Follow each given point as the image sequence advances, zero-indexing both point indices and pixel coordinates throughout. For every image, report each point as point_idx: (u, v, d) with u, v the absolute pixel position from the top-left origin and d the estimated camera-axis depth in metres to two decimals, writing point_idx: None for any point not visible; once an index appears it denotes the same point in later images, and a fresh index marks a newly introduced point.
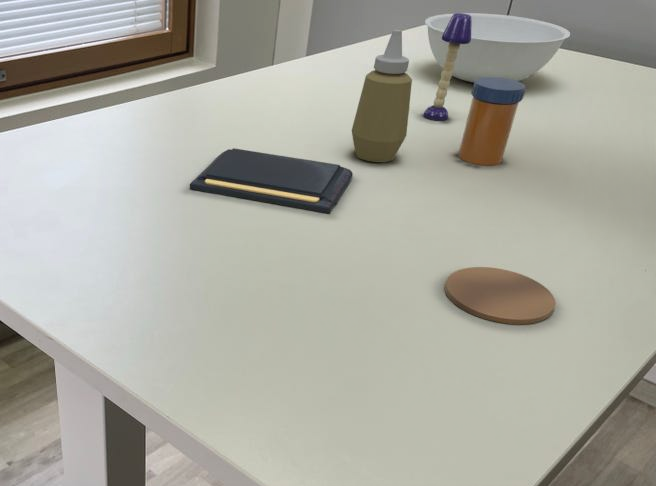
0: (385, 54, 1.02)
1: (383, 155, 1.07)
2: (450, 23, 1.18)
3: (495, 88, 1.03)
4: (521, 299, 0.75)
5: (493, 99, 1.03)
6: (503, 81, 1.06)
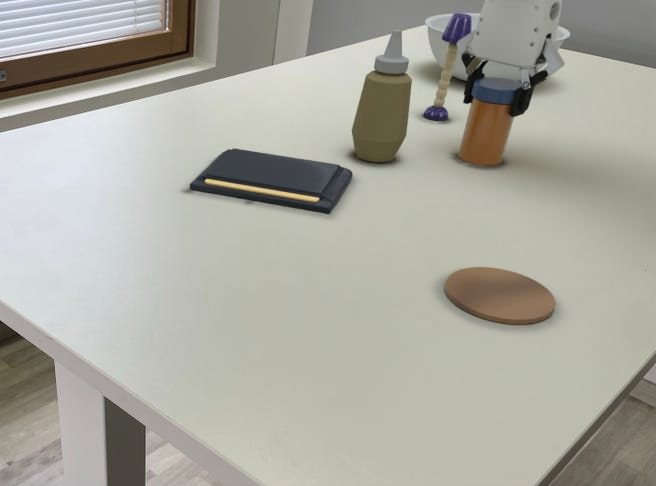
0: (385, 54, 1.02)
1: (383, 155, 1.07)
2: (450, 23, 1.18)
3: (495, 88, 1.03)
4: (521, 299, 0.75)
5: (493, 99, 1.03)
6: (503, 81, 1.06)
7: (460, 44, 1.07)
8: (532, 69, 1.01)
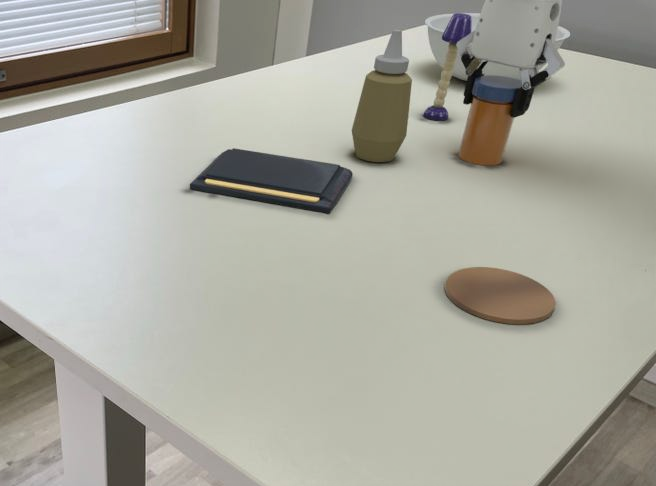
0: (385, 54, 1.02)
1: (383, 155, 1.07)
2: (450, 23, 1.18)
3: None
4: (521, 299, 0.75)
5: None
6: (490, 79, 1.05)
7: (460, 45, 1.07)
8: (532, 70, 1.01)
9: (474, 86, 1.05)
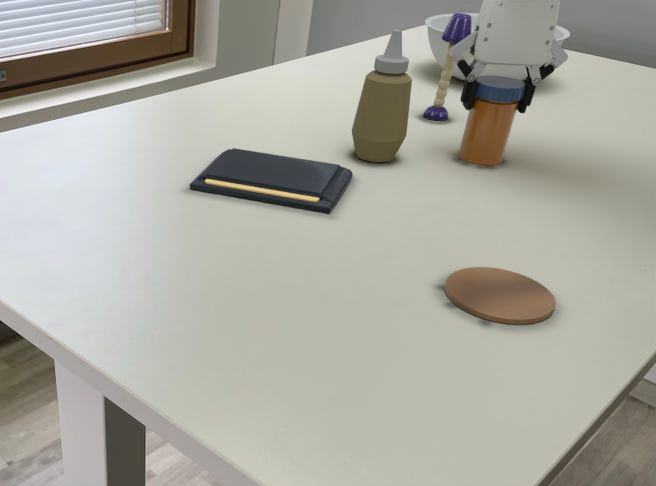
0: (385, 54, 1.02)
1: (383, 155, 1.07)
2: (450, 23, 1.18)
3: (519, 81, 1.05)
4: (521, 299, 0.75)
5: None
6: (490, 81, 1.04)
7: (456, 52, 1.02)
8: None
9: (485, 91, 1.03)
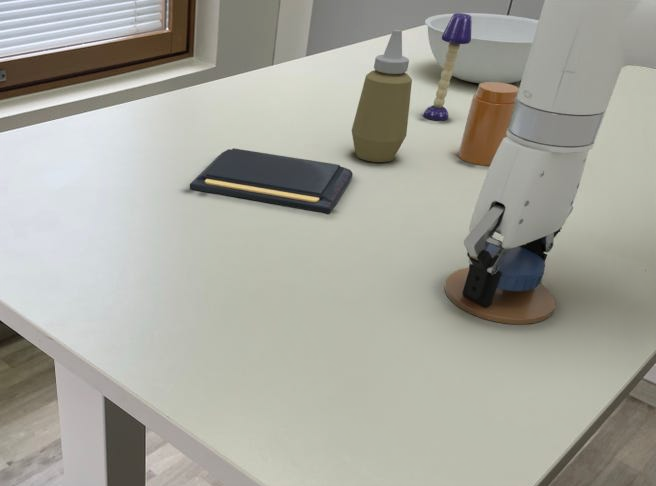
0: (385, 54, 1.02)
1: (383, 155, 1.07)
2: (450, 23, 1.18)
3: (518, 248, 0.76)
4: (521, 299, 0.75)
5: None
6: (502, 263, 0.73)
7: (479, 244, 0.68)
8: None
9: (512, 281, 0.72)
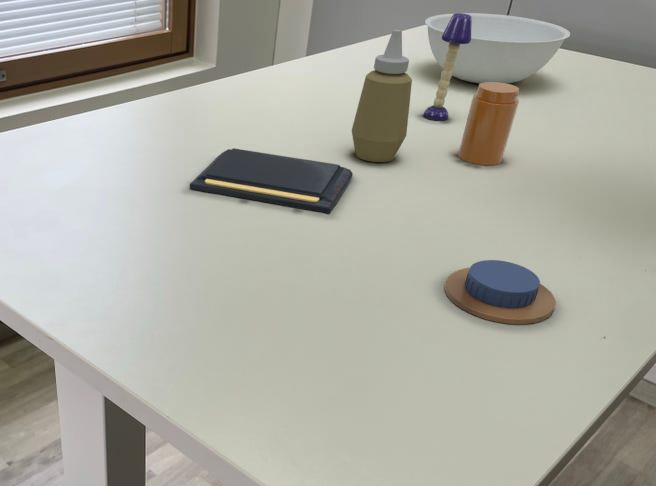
0: (385, 54, 1.02)
1: (383, 155, 1.07)
2: (450, 23, 1.18)
3: (513, 264, 0.78)
4: None
5: None
6: (498, 280, 0.75)
7: None
8: None
9: (507, 298, 0.73)
